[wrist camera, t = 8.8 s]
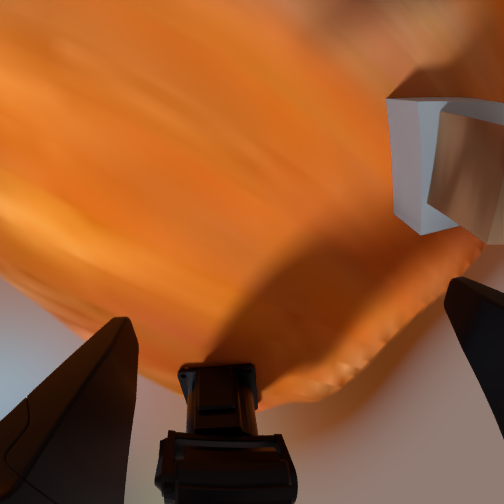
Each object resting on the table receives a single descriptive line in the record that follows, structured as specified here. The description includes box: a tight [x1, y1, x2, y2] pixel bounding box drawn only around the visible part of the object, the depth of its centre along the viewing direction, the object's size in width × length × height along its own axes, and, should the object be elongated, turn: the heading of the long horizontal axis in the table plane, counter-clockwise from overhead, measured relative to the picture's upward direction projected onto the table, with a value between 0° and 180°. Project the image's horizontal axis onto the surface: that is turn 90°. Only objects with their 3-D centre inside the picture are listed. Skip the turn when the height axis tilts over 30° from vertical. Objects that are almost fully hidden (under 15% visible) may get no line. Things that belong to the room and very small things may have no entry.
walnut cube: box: [427, 111, 504, 245], centre depth 13 cm, size 6×6×6 cm
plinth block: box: [386, 97, 504, 235], centre depth 18 cm, size 8×8×4 cm
